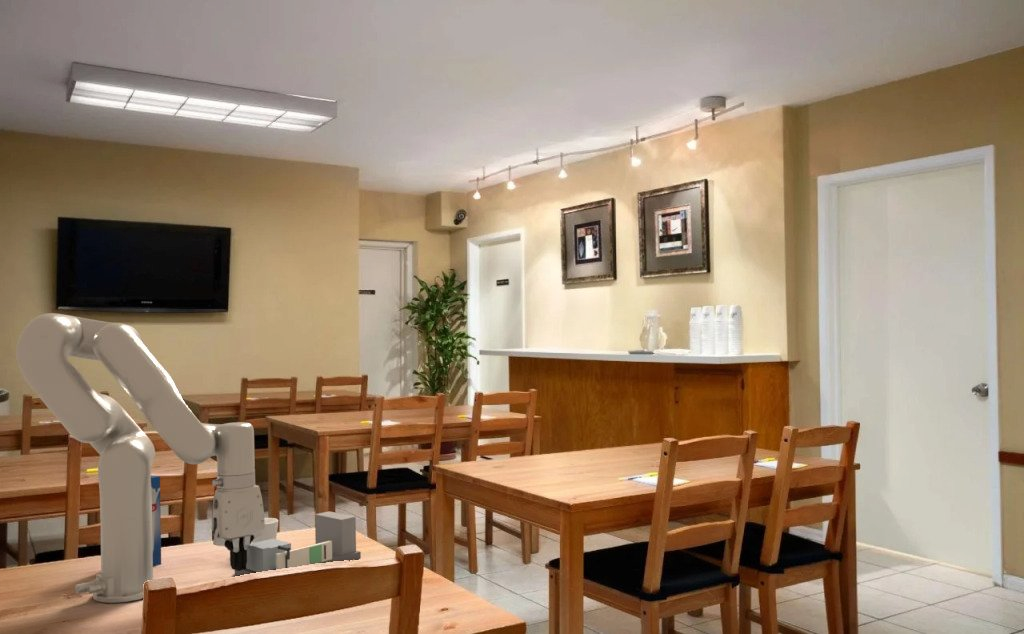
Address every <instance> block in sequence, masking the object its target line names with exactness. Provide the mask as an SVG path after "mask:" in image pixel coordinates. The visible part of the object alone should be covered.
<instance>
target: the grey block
mask: <svg viewBox="0 0 1024 634" xmlns="http://www.w3.org/2000/svg"><path fill="white" fill-rule="evenodd" d="M290 550H292V543H291V542H288V541H285V540H281V539H277V538H276V539H269V540H264V541H260V542H256V543H252V542H251V544H250V545H249V549H248V550H247V564H246V569H249V570H253V571H256V572H262V571H268V570H274V569H276V554H277V553H282V552H286V551H287V559H288V560H289V559H290Z"/></svg>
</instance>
